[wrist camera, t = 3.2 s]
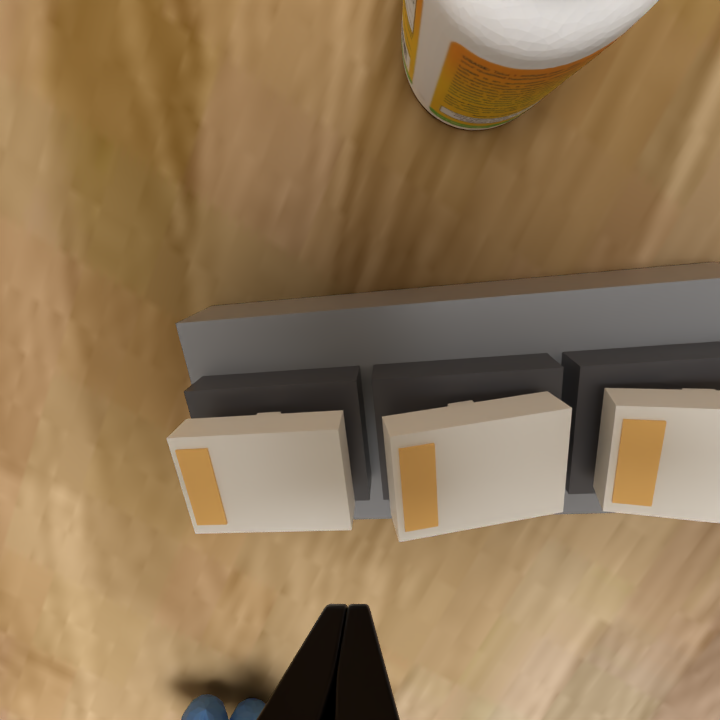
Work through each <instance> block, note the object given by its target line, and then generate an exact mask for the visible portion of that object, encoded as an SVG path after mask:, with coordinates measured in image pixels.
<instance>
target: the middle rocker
mask: <svg viewBox="0 0 720 720" xmlns="http://www.w3.org/2000/svg"><path fill="white" fill-rule="evenodd" d="M571 416H572V408H571V407H570V406H568V405H567V404H566V403H564V402H563V401H561V400H560V399H558V398H557V397H555V396H554V395H552V394H551V393H549V392H548V391H545V392H539V393H532V394H526V395H519V396H513V397H506V398H500V399H493V400H487V401H480V402H473V401H472V400H469V401H463V402H456V403H450V404H448V406H447V407H441V408H434V409H428V410H421V411H415V412H408V413H402V414H395V415H389V416H382V423H383V434H384V444H385V455H386V466H387V477H388V488H389V499H390V509H391V516H392V520H393V523H394V526H395V530H396V533H397V537H398V540H399V542H403V541H409V540H414V539H419V538H425V537H430V536H436V535H441V534H447V533H452V532H458V531H463V530H469V529H474V528H479V527H485V526H490V525H496V524H501V523H507V522H512V521H518V520H523V519H528V518H534V517H539V516H545V515H550V514H556V513H561V512H563V507H564V495H565V484H566V473H567V461H568V450H569V438H570V427H571Z"/></svg>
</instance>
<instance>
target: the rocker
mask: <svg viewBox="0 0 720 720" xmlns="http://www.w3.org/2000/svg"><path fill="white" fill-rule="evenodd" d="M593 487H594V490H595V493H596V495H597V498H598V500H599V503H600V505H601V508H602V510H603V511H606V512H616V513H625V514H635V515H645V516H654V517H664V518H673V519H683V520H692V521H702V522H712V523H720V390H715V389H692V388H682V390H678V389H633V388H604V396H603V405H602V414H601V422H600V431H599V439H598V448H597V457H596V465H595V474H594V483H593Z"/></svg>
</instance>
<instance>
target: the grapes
mask: <svg viewBox="0 0 720 720" xmlns="http://www.w3.org/2000/svg"><path fill="white" fill-rule="evenodd" d="M265 705H266V704H265V703H264V702H263V701H261V700H259V699H256V698H250V699H246V700H244V701H242V702H240V703H239V704H238V706H237V707H236V709H235V711H234V713H233V714H232V716H231V718H230V719H228V716H227V712H226V709H225V706H224V703H223V702H222V701H221V700H220V699H219V698H217V697H216V696H214V695H211V694H206V695H201V696H199V697H197V698H195V699H194V700H193V701H192V702H191V703H190V705H189V706H188V708H187V709H186V711H185V712H184V714H183V716H182V719H181V720H257V718H258V716H259V715H260V713H261V711H262V710H263V708H264V707H265Z"/></svg>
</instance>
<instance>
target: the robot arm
mask: <svg viewBox="0 0 720 720" xmlns="http://www.w3.org/2000/svg"><path fill="white" fill-rule="evenodd" d="M257 720H400V719H399V715H398V711H397V708H396V704H395V700H394V696H393V693H392V689H391V685H390V682H389V678H388V674H387V671H386V667H385V663H384V659H383V656H382V652H381V648H380V645H379V641H378V637H377V633H376V630H375V626H374V622H373V619H372V615H371V611H370V608H369V606H368V605H367V604H351V605H349V606H347V605H346V604H329V605H327V606H326V607H325V608H324V610H323V611H322V613H321V615H320V616H319V618H318V620H317V621H316V623H315V625H314V626H313V628H312V630H311V631H310V633H309V634H308V636H307V638H306V639H305V641H304V643H303V644H302V646H301V648H300V649H299V651H298V652H297V654H296V656H295V657H294V659H293V661H292V662H291V664H290V666H289V667H288V669H287V670H286V672H285V674H284V675H283V677H282V679H281V680H280V682H279V684H278V685H277V687H276V688H275V690H274V692H273V693H272V695H271V697H270V698H269V700H268V702H267V703H266V705H265V707H264V708H263V710H262V711H261V713H260V715H259V716H258V718H257Z"/></svg>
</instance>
